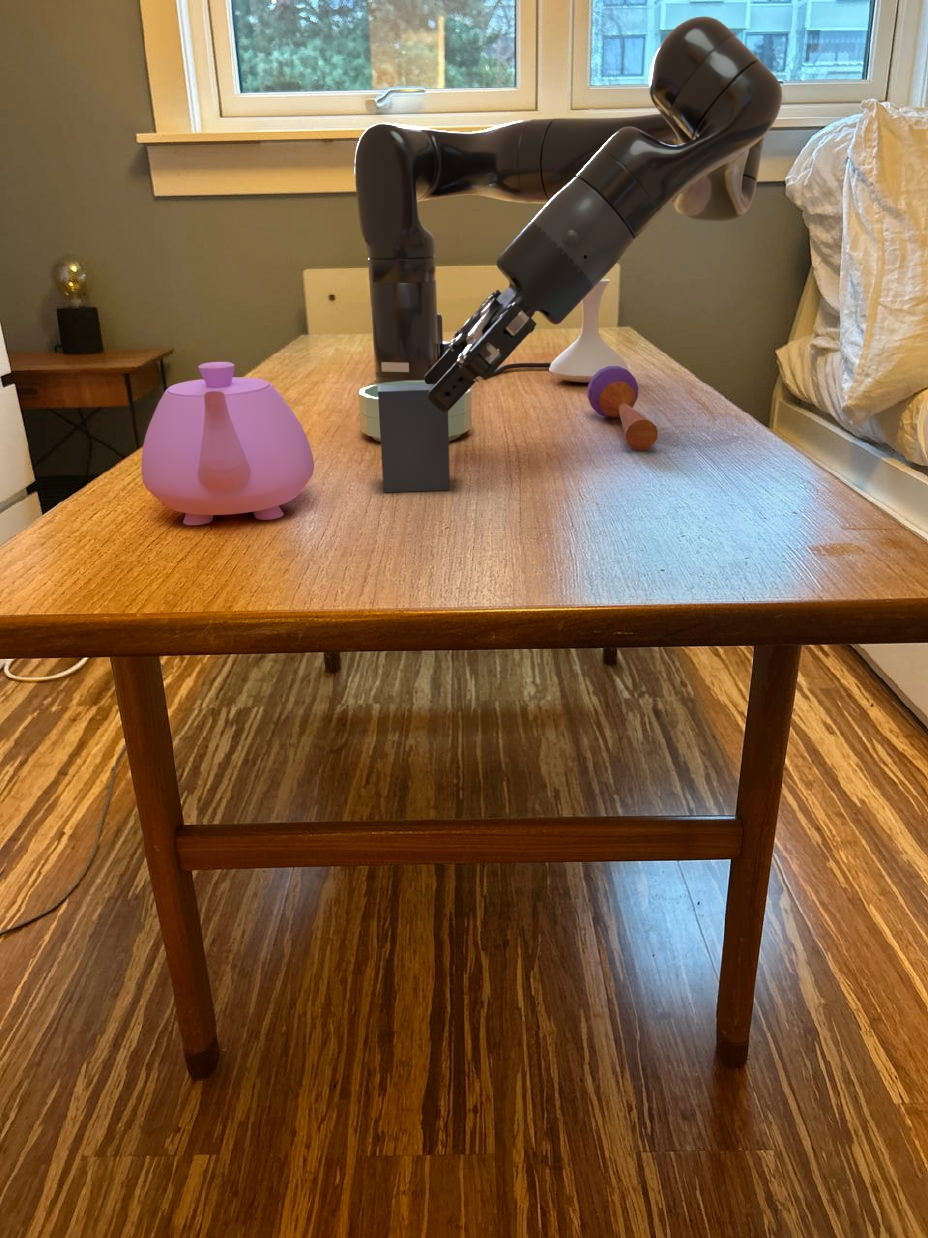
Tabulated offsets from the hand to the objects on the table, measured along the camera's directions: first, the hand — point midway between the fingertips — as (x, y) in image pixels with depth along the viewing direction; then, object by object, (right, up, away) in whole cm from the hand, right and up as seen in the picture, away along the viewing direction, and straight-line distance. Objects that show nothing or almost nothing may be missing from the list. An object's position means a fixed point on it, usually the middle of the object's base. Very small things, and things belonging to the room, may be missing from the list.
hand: (432, 395), depth 79 cm
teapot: (-17, -11, -2) cm, 20 cm away
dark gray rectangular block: (-2, -8, +3) cm, 8 cm away
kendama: (+21, +2, +23) cm, 31 cm away
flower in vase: (+21, +14, +51) cm, 57 cm away
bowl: (-3, +1, +23) cm, 23 cm away
